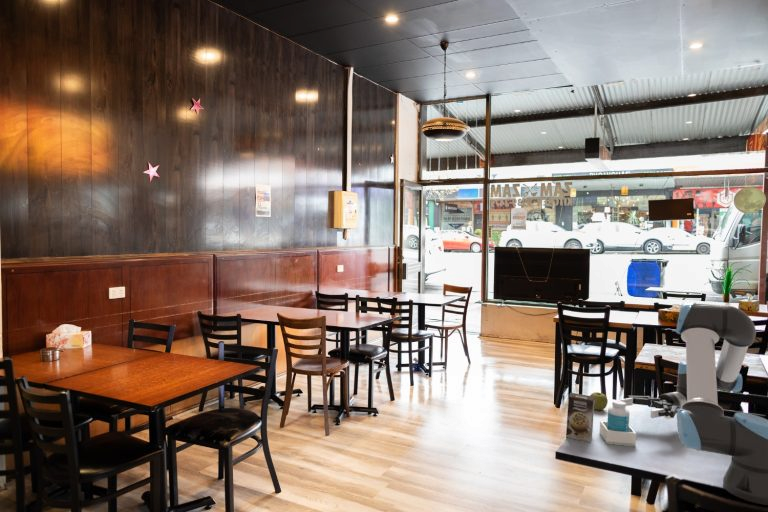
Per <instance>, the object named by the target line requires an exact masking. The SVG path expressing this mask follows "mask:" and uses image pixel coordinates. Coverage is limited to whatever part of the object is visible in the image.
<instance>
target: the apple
mask: <svg viewBox="0 0 768 512" xmlns="http://www.w3.org/2000/svg"><path fill="white" fill-rule="evenodd" d="M589 396H593V397H595V402H594V410H597V411H603V410H604V409H606V407H607V405H608V396H606V395H605V394H604V393H602V392H592V393H591V394H590V395H589Z"/></svg>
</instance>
